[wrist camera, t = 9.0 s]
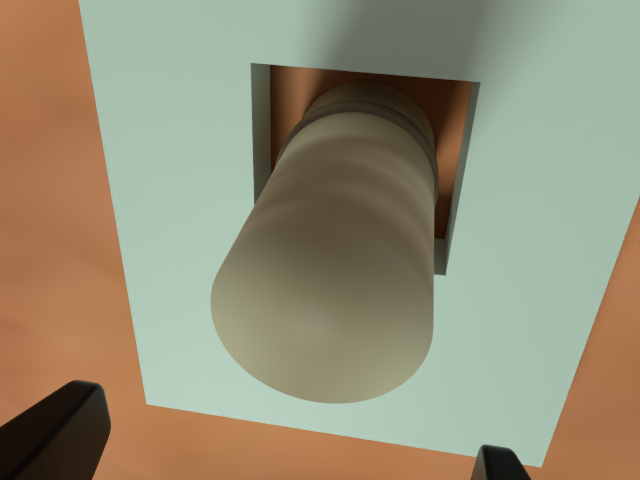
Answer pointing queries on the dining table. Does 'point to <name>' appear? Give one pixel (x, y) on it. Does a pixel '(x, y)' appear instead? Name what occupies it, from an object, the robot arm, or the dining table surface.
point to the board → (450, 253)
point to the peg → (338, 253)
